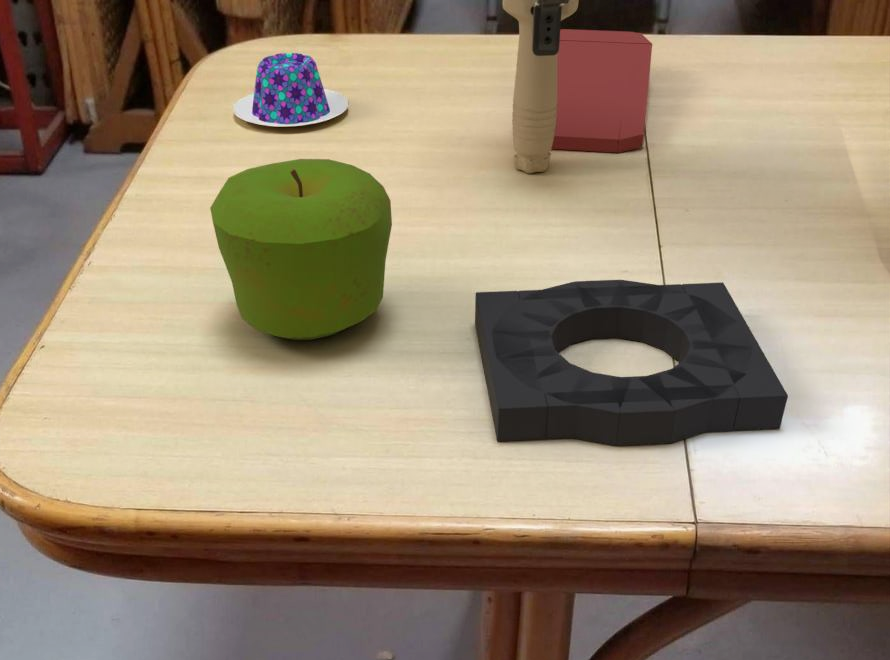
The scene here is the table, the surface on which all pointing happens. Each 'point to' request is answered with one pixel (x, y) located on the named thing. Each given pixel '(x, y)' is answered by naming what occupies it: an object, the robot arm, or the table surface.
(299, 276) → the apple
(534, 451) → the table surface
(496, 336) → the black plate with hole
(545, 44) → the robot arm
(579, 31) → the red chamfered slab
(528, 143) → the handle
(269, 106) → the pudding
